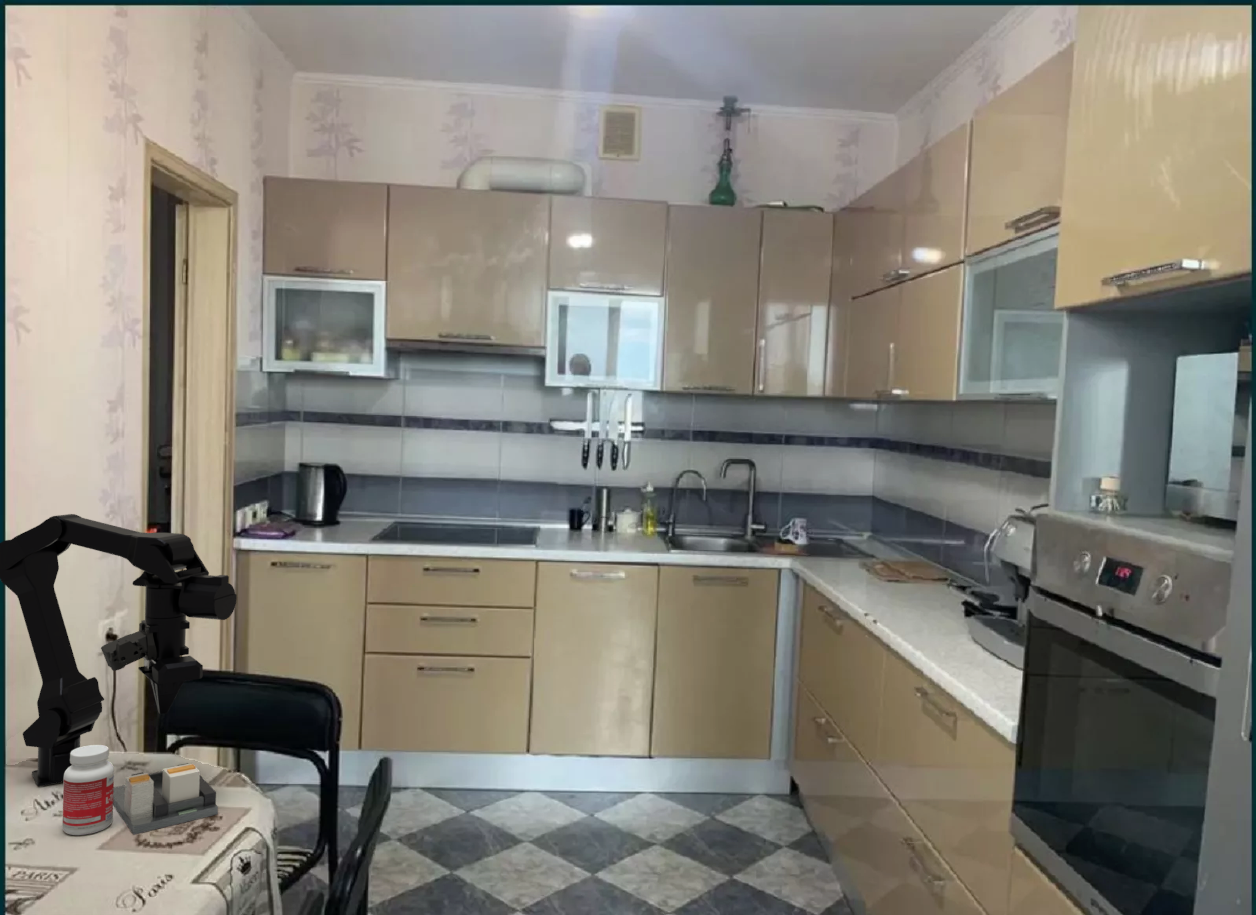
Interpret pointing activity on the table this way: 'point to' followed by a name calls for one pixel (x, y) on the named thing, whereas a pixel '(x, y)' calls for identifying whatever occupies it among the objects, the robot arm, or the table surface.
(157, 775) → the grey desk organizer
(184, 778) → the block
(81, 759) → the pill bottle
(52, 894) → the table surface
